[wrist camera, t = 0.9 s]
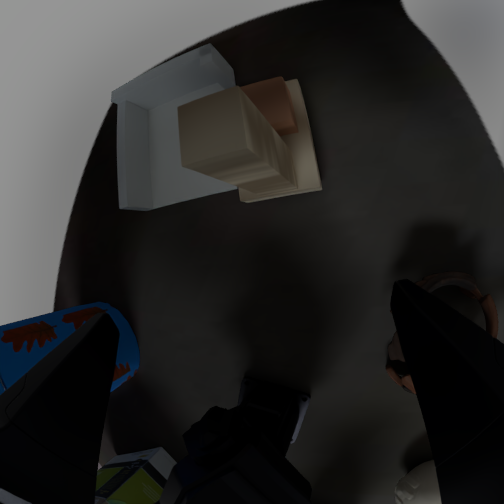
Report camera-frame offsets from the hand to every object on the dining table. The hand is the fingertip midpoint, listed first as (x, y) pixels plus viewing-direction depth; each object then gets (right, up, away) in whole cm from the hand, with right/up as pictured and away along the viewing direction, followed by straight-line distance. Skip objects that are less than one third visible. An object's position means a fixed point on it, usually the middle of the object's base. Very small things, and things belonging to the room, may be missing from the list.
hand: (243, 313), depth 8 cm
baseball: (+19, -22, +11) cm, 31 cm away
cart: (+2, +11, +14) cm, 18 cm away
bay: (-6, +13, +17) cm, 23 cm away
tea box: (-14, -32, +24) cm, 42 cm away
